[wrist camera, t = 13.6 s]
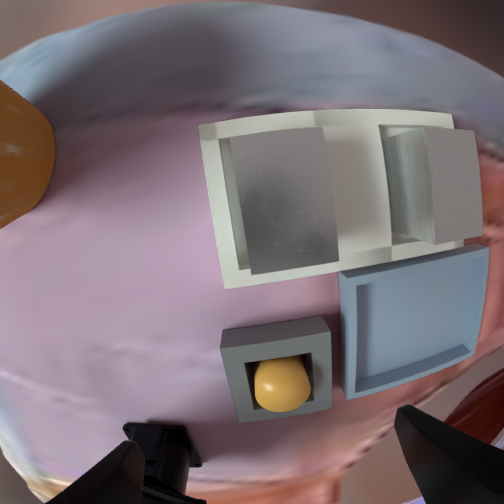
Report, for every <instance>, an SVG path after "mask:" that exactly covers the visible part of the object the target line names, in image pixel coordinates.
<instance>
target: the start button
mask: <svg viewBox="0 0 504 504" xmlns="http://www.w3.org/2000/svg"><path fill="white" fill-rule="evenodd" d="M254 380H255V397H256V400H257V402H258V403H259V404H260V405H261V406H262V407H263V408H265V409H267V410H270V411H274V412H286V411H290V410H293V409H296V408H297V407H299V406H301V405H302V404H303V403H304V402H305V401H306V400H307V399H308V397H309V395H310V391H311V388H310V383H309V380H308V377H307V374H306V371H305V368H304V364H303V361H302V359H301V357H300V355H293V356H287V357H281V358H274V359H268V360H261V361H256V362H255V365H254Z"/></svg>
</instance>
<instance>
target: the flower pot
mask: <svg viewBox="0 0 504 504" xmlns="http://www.w3.org/2000/svg"><path fill="white" fill-rule="evenodd" d="M54 163H55V137H54V132H53V129H52V126H51V124H50V122H49V121H48V119H47V118H46V116H45V115H44V114H43V113H42V112H40V111H39V110H38V109H37V108H35V107H34V106H33V105H32V104H31V103H29V102H28V101H27V100H26V99H24V98H23V97H22V96H21V95H19V94H18V93H17V92H16V91H14V90H13V89H12V88H10V87H9V86H8V85H6V84H5V83H4V82H2V81H1V80H0V229H1V228H3V227H4V226H6V225H8V224H9V223H11V222H12V221H14V220H16V219H17V218H19V217H20V216H22V215H24V214H26V213H27V212H29V211H30V210H32V209H33V208H34V207H35V206H36V205H37V203H38V202H39V201H40V200H41V198H42V197H43V195H44V193H45V191H46V189H47V187H48V185H49V182H50V179H51V176H52V173H53V168H54Z"/></svg>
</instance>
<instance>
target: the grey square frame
mask: <svg viewBox="0 0 504 504" xmlns="http://www.w3.org/2000/svg"><path fill="white" fill-rule="evenodd" d="M220 351H221V355H222V359H223V364H224V368H225V372H226V376H227V380H228V383H229V387H230V391H231V395H232V399H233V403H234V406H235V410H236V414H237V417H238V421H239V423H248V422H257V421H265V420H273V419H279V418H286V417H292V416H298V415H303V414H309V413H314V412H319V411H324V410H328V409H332V356H331V331H330V329H329V327H328V326H327V324H326V322H325V320H324V319H323V317H322V315H318V316H313V317H307V318H302V319H296V320H290V321H284V322H278V323H272V324H265V325H258V326H251V327H244V328H237V329H229V330H223V331H222V338H221V344H220ZM304 353H306V354H307V368H308V380H309V383H310V388H311V391H310V395H309V397H308V399H307V400H306V401H305V402H304V403H303V404H302V405H301V406H299V407H297V408H296V409H293V410H290V411H286V412H274V411H270V410H267V409H265V408H263V407H262V406H261V405H260V404H259V403H258V402H257V400H256V397H255V389H253V387H252V382H251V377H250V372H249V367H248V362H254V361H261V360H268V359H274V358H281V357H287V356H293V355H299V354H304Z"/></svg>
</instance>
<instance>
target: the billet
mask: <svg viewBox="0 0 504 504" xmlns="http://www.w3.org/2000/svg"><path fill="white" fill-rule="evenodd" d="M382 146H383V152H384V159H385V166H386V173H387V181H388V190H389V200H390V211H391V224H392V231H395V232H398V233H401V234H404V235H407V236H410V237H413V238H416V239H419V240H421V241H424V242H427V243H430V244H433V245H438V244H443V243H448V242H453V241H458V240H463V239H467V238H472V237H477V236H482V235H483V212H482V191H481V179H480V169H479V160H478V153H477V146H476V140H475V134H474V131H472V130H462V129H450V128H434V127H421V128H418V129H414V130H411V131H408V132H404V133H401V134H398V135H395V136H391V137H388V138H385V139H382Z"/></svg>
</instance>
